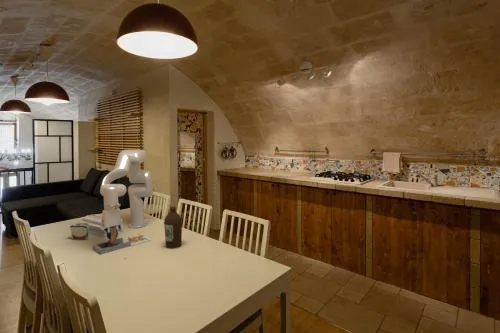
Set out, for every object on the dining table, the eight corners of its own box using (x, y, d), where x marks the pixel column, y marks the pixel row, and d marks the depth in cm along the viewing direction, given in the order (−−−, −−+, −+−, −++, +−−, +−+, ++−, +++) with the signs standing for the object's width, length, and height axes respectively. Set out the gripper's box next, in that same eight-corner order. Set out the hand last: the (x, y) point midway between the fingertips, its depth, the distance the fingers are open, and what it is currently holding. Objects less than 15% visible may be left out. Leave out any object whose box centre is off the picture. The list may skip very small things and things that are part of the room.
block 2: (140, 239, 182) (140, 233, 182) (143, 240, 180) (143, 234, 179) (134, 241, 179) (134, 234, 179) (137, 242, 177) (137, 236, 176)
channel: (121, 243, 177) (121, 237, 176) (130, 247, 169) (130, 241, 169) (92, 251, 164) (92, 244, 164) (101, 256, 157) (100, 249, 156)
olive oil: (173, 241, 180) (172, 203, 178) (186, 244, 175) (185, 205, 173) (160, 246, 171) (159, 206, 169) (173, 250, 166) (172, 208, 164)
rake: (112, 243, 170) (112, 225, 169) (118, 246, 166) (117, 227, 165) (107, 244, 168) (106, 226, 167) (113, 248, 163) (112, 228, 162)
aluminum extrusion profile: (104, 238, 187) (103, 223, 186) (78, 230, 202) (77, 217, 202) (123, 232, 200) (122, 218, 199) (97, 225, 215) (96, 213, 214)
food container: (94, 237, 188) (93, 222, 187) (88, 240, 182) (87, 225, 181) (77, 236, 189) (76, 222, 188) (70, 239, 183) (69, 224, 182)
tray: (140, 237, 187) (140, 234, 187) (151, 242, 178) (151, 239, 178) (121, 242, 178) (120, 239, 177) (131, 248, 169) (131, 245, 168)
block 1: (134, 241, 179) (134, 235, 179) (137, 242, 177) (137, 236, 176) (128, 242, 176) (128, 236, 176) (131, 244, 174) (131, 238, 173)
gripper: (122, 204, 174) (123, 233, 175) (93, 208, 161) (95, 239, 163) (128, 205, 169) (129, 235, 170) (99, 210, 156) (100, 243, 158)
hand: (112, 237), depth 167 cm, fingers closed on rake, 3 cm apart
